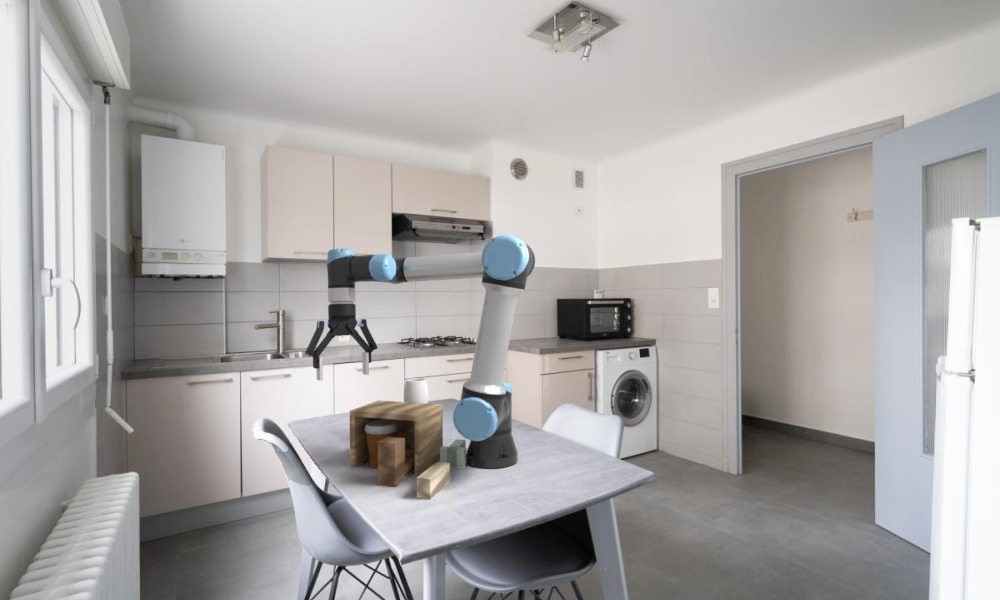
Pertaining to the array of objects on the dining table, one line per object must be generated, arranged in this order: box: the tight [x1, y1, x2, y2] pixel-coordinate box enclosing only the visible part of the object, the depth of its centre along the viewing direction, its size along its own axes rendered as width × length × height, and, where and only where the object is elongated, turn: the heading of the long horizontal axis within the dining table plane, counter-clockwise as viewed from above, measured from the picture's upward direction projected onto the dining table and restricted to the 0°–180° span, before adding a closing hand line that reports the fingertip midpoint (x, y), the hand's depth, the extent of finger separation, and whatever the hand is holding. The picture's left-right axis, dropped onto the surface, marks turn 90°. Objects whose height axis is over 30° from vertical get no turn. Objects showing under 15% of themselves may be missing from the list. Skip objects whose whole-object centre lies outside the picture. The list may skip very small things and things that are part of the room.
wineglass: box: [403, 377, 429, 404], centre depth 161 cm, size 9×9×21 cm
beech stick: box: [416, 461, 451, 500], centre depth 121 cm, size 4×12×5 cm, turn 163°
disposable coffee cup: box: [364, 419, 398, 469], centre depth 139 cm, size 10×10×12 cm
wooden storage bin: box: [349, 400, 444, 476], centre depth 141 cm, size 22×15×16 cm
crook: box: [377, 437, 415, 488], centre depth 135 cm, size 16×22×11 cm
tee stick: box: [439, 438, 467, 469], centre depth 142 cm, size 7×10×5 cm
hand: (343, 377), depth 138 cm, fingers open, 13 cm apart
